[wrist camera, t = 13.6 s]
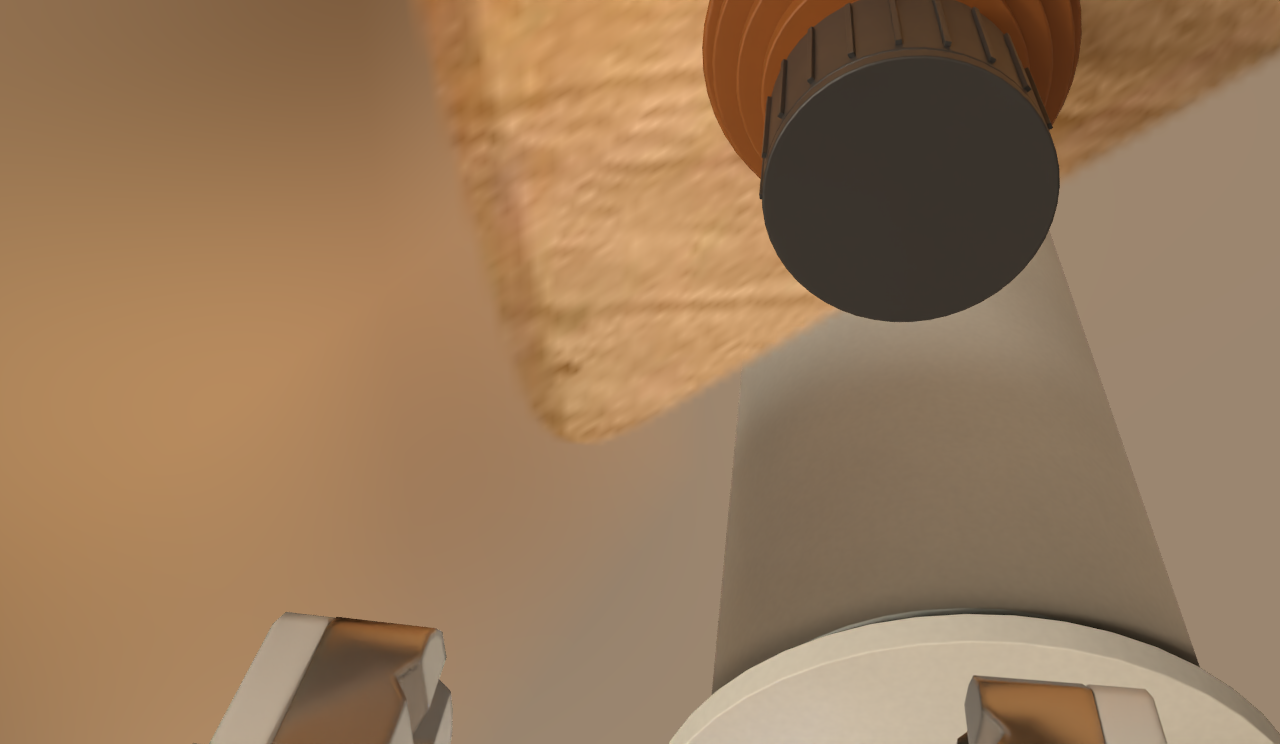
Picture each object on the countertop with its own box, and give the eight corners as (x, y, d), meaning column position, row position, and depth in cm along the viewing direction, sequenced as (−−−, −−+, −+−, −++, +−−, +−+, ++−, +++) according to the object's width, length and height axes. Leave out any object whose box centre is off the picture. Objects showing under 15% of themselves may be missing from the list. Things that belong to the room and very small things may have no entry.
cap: (772, -16, 18) (766, 47, 16) (1054, -8, 17) (1089, 59, 15) (759, 229, 20) (752, 317, 18) (1009, 241, 20) (1035, 333, 17)
